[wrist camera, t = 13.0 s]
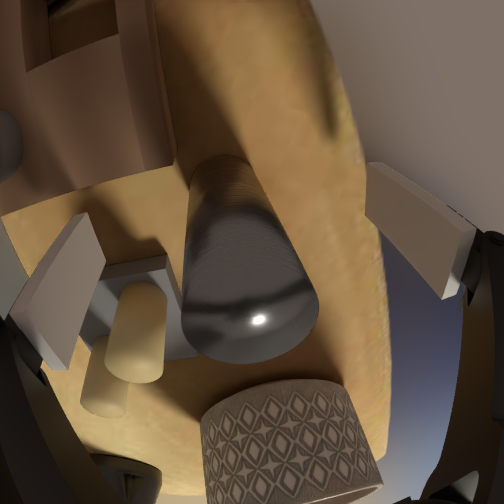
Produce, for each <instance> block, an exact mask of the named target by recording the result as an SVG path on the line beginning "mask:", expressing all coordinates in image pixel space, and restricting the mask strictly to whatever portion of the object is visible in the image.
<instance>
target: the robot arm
mask: <svg viewBox="0 0 504 504" xmlns="http://www.w3.org/2000/svg"><path fill="white" fill-rule="evenodd" d="M365 216H366V217H367V218H368V219H369V220H370V221H371V222H372V223H373V224H374V225H375V226H376V227H377V228H378V229H379V230H380V231H381V232H382V233H383V234H384V235H385V236H386V237H387V238H388V239H389V240H390V241H391V243H392V244H394V246H395V247H396V248H397V249H398V250H399V251H400V252H401V253H402V254H403V256H404V257H405V258H406V259H407V260H408V261H409V262H410V263H411V264H412V265H413V267H414V268H415V269H416V270H417V271H418V272H419V273H420V275H421V276H422V277H423V278H424V279H425V280H426V282H427V283H428V284H429V285H430V286H431V287H432V289H433V290H434V291H435V292H436V293H437V295H438V296H439V297H440V298H441V299H445V298H447V297H450V296H453V295H455V294H456V293H457V290H458V287H459V285H460V282H461V281H462V282H463V283H464V284H465V285H466V289H465V292H464V294H463V297H462V299H461V302H460V305H459V307H458V311H460V309H461V307H463V326H462V341H461V352H460V361H459V370H458V377H457V384H456V390H455V396H454V402H453V407H452V412H451V417H450V422H449V426H448V431H447V434H446V438H445V442H444V446H443V450H442V453H441V457H440V460H439V462H438V464H437V467H436V468H435V470H434V471H433V473H432V474H431V475H430V477H429V479H428V481H427V483H426V485H425V487H424V489H423V492H422V495H421V497H420V499H419V500H411V498H410V497H407V498H405V499H403V500H401V501H398V502H396V503H394V504H504V235H503V234H501V233H498V232H495V231H486V232H485V233H483V232H482V231H481V230H479V229H478V228H477V227H476V226H474V225H473V224H472V223H470V222H469V221H468V220H467V219H465V218H463V216H461V215H460V214H459V213H457V212H456V211H455V210H453V209H452V208H451V207H449V206H448V205H445V204H444V203H443V202H441V201H440V200H438V199H437V198H435V197H434V196H433V195H431V194H430V193H428V192H427V191H425V190H424V189H422V188H421V187H419V186H418V185H416V184H415V183H413V182H412V181H410V180H409V179H407V178H406V177H404V176H403V175H401V174H399V173H398V172H396V171H395V170H393V169H391V168H390V167H388V166H386V165H385V164H383V163H381V162H375V163H367V181H366V202H365ZM105 263H106V259H105V257H104V254H103V252H102V249H101V247H100V244H99V242H98V239H97V237H96V234H95V232H94V229H93V226H92V224H91V221H90V218H89V216H88V213H87V212H85V213H81V214H77V215H74V216H73V217H72V218H71V220H70V221H69V222H68V224H67V225H66V226H65V228H64V229H63V230H62V232H61V233H60V234H59V236H58V237H57V238H56V240H55V241H54V243H53V244H52V245H51V247H50V248H49V250H48V251H47V253H46V254H45V255H44V257H43V258H42V260H41V261H40V263H39V264H38V266H37V267H36V269H35V271H34V272H33V274H32V275H31V277H30V278H29V280H28V281H27V282H26V283H25V285H24V287H23V288H22V290H21V293H19V295H18V297H17V300H15V302H14V304H13V305H12V307H11V309H10V311H9V313H8V314H7V316H6V318H5V320H3V318H2V317H1V315H0V504H155V503H156V500H157V497H158V494H159V492H160V489H161V486H162V473H161V472H160V471H159V470H158V469H156V468H154V467H152V466H149V465H146V464H143V463H140V462H136V461H132V460H128V459H123V458H118V457H112V456H105V455H91V454H90V455H89V454H88V452H87V451H86V449H85V448H84V446H83V444H82V443H81V441H80V440H79V438H78V436H77V434H76V433H75V431H74V429H73V428H72V426H71V424H70V422H69V420H68V419H67V417H66V415H65V413H64V411H63V409H62V407H61V405H60V403H59V401H58V399H57V397H56V395H55V393H54V391H53V389H52V387H51V385H50V382H49V380H48V378H47V376H46V374H45V372H44V371H43V370H42V369H41V368H40V366H41V364H42V361H43V360H44V361H45V362H46V364H47V365H48V366H49V367H50V368H51V370H68V368H69V364H70V361H71V357H72V354H73V351H74V347H75V344H76V341H77V338H78V335H79V332H80V329H81V326H82V323H83V320H84V317H85V315H86V312H87V309H88V306H89V303H90V301H91V298H92V295H93V293H94V290H95V288H96V285H97V283H98V280H99V278H100V275H101V273H102V270H103V268H104V266H105Z"/></svg>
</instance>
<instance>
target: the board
mask: <svg viewBox="0 0 504 504" xmlns="http://www.w3.org/2000/svg"><path fill="white" fill-rule="evenodd" d="M181 302H182V297H181V294H180V291H179V288H178V285H177V282H176V279H175V276H174V273H173V270H172V267H171V264H170V260H169V257H168V254H167V255H162V256H156V257H151V258H146V259H141V260H135V261H130V262H125V263H120V264H115V265H110V266H105V267H104V268H103V270H102V273H101V275H100V278H99V280H98V283H97V285H96V288H95V290H94V293H93V295H92V298H91V301H90V303H89V306H88V309H87V312H86V315H85V317H84V320H83V323H82V326H81V329H80V332H79V335H80V337H81V338H82V340H83V341H84V343H85V344H86V346H87V347H88V348H89V350H90V351H91V355H90V359H89V363H88V367H87V372H86V376H85V380H84V385H83V389H82V394H81V399H80V403H81V405H82V406H83V408H85V409H86V410H87V411H89V412H90V413H92V414H94V415H97V416H100V417H104V418H120V417H123V416H124V415H125V412H126V402H127V393H128V384H129V382H133V383H149V382H152V381H155V380H157V379H158V378H160V377H161V375H162V373H163V363H164V361H172V360H180V359H187V358H194V357H198V351H197V350H195V349H194V348H193V347H192V346H191V345H190V344H189V342H188V341H187V340H186V338H185V336H184V334H183V331H182V328H181Z"/></svg>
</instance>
